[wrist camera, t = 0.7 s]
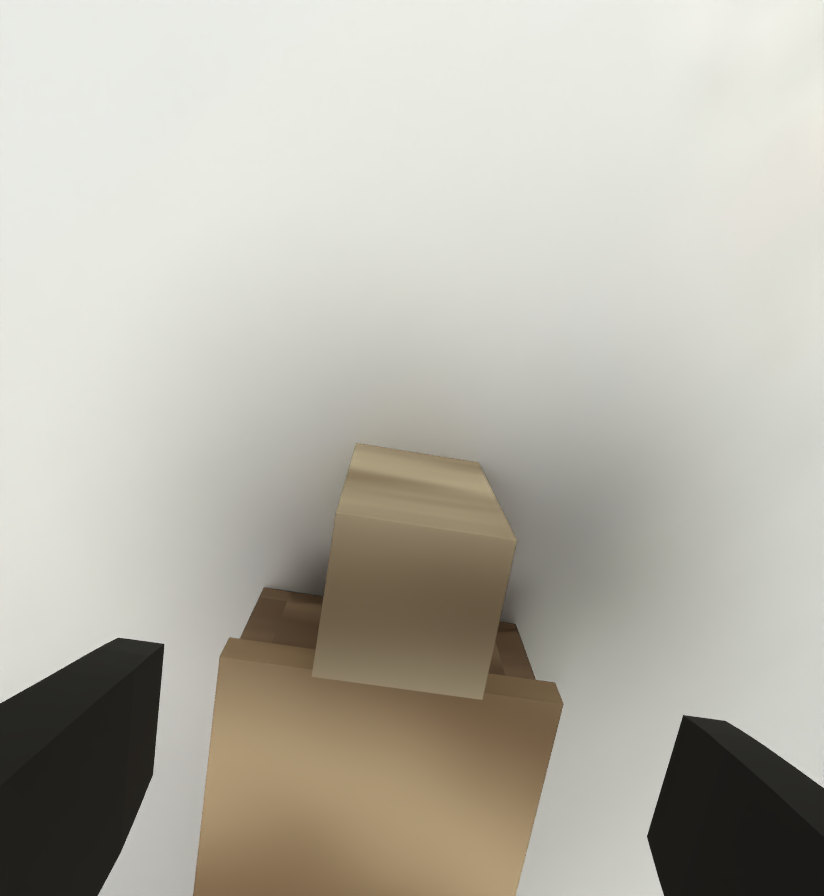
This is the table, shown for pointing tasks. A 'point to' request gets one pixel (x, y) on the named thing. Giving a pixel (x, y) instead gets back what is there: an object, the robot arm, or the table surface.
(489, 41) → the table surface
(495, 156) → the table surface
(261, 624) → the wooden box
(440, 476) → the tan wooden block
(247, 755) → the lid
